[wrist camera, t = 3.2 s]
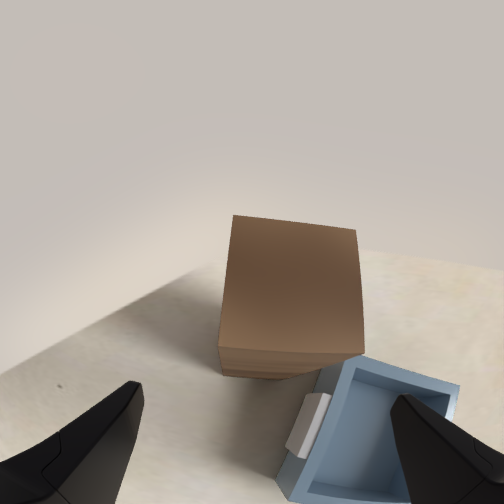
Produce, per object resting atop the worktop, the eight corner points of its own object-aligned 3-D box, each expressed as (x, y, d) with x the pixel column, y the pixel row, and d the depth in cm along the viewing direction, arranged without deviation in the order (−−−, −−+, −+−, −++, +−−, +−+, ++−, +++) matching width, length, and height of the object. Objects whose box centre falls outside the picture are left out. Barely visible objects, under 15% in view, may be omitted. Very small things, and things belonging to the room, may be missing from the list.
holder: (386, 498, 14) (417, 512, 10) (266, 477, 15) (277, 498, 11) (424, 391, 19) (460, 385, 15) (316, 357, 20) (338, 347, 16)
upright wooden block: (281, 379, 19) (364, 353, 7) (223, 375, 19) (217, 345, 7) (283, 325, 21) (355, 230, 9) (228, 320, 20) (233, 215, 9)
